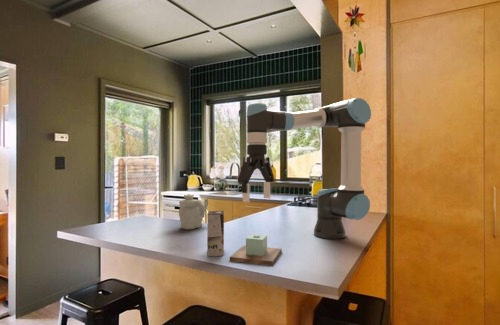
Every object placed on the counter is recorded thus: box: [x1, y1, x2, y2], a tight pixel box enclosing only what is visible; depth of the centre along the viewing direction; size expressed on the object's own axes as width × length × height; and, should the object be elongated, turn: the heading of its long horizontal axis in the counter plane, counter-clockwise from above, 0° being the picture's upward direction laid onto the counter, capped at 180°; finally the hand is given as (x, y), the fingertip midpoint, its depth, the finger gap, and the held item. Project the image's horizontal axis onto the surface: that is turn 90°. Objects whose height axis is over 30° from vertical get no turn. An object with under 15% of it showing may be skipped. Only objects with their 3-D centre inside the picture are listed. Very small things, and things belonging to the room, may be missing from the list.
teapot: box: [178, 193, 209, 230], centre depth 167 cm, size 16×15×19 cm
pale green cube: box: [245, 234, 268, 256], centre depth 114 cm, size 6×6×6 cm
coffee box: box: [206, 210, 225, 257], centre depth 119 cm, size 9×6×16 cm
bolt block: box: [229, 245, 283, 267], centre depth 114 cm, size 16×16×6 cm
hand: (257, 200), depth 114 cm, fingers open, 13 cm apart
